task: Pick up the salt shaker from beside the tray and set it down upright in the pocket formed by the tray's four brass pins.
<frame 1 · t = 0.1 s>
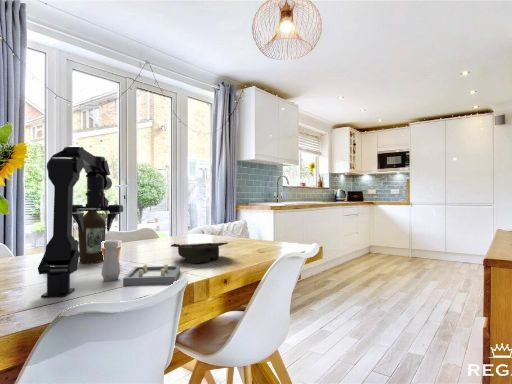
hand: (95, 231, 122), 15 cm above the table, fingers open, 9 cm apart
pin tray: (153, 277, 112), on the table
skincare box: (64, 269, 124), on the table
salt shaker: (111, 279, 110), on the table
stone bowl: (198, 260, 144), on the table
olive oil: (91, 261, 139), on the table
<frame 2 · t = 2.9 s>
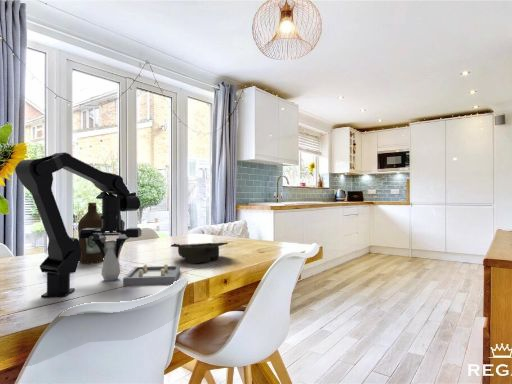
hand: (111, 258, 110), 7 cm above the table, fingers closed on salt shaker, 4 cm apart
salt shaker: (111, 279, 110), on the table, touching gripper
everything else where it was.
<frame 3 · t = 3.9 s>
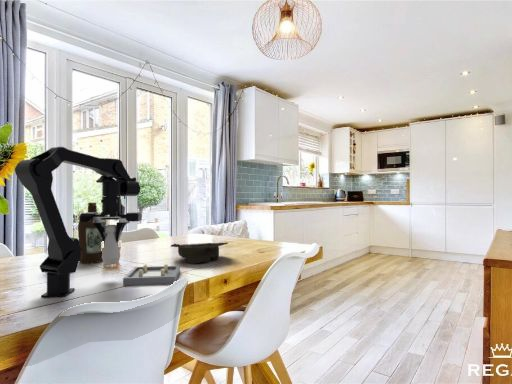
hand: (111, 242, 110), 12 cm above the table, fingers closed on salt shaker, 4 cm apart
salt shaker: (111, 263, 110), point 5 cm above the table, touching gripper
everything else where it was.
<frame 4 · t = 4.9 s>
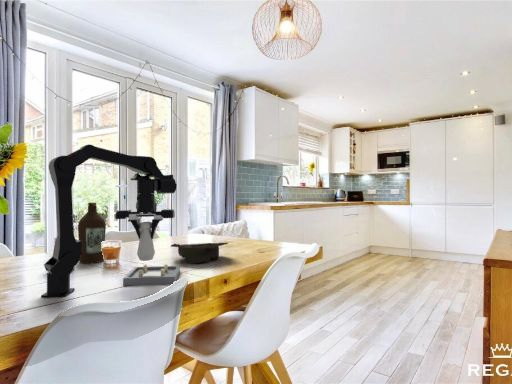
hand: (146, 239, 112), 13 cm above the table, fingers closed on salt shaker, 4 cm apart
salt shaker: (146, 260, 112), point 6 cm above the table, touching gripper
everything else where it was.
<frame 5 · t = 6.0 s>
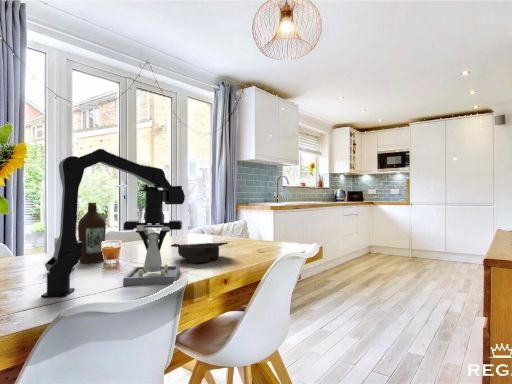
hand: (153, 250, 112), 10 cm above the table, fingers closed on salt shaker, 4 cm apart
salt shaker: (153, 271, 112), point 2 cm above the table, touching gripper
everything else where it was.
when the fingers open (9 cm above the table, at t = 6.7 s): salt shaker stays where it is, resting on pin tray.
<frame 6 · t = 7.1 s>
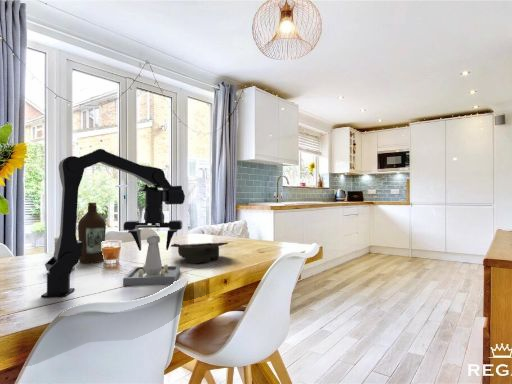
hand: (153, 250, 112), 9 cm above the table, fingers open, 9 cm apart
salt shaker: (153, 274, 112), point 1 cm above the table, touching pin tray
everything else where it was.
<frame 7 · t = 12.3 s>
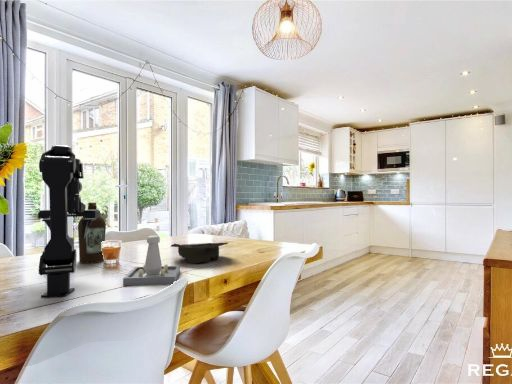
hand: (69, 238, 115), 13 cm above the table, fingers open, 9 cm apart
nothing on the table moved.
at the end: salt shaker 0.2 cm off-centre on the pin tray, point 1.2 cm above the pin tray's base; salt shaker tilted 0°; the gripper is holding nothing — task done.
